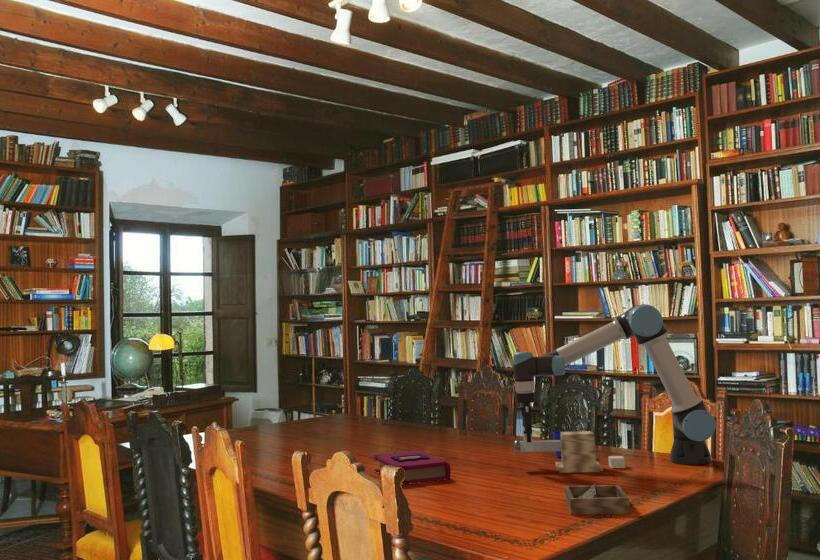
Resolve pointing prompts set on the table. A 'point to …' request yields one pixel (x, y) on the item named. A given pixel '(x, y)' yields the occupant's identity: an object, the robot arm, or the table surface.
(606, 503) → the wooden tray
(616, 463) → the spacer
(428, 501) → the table surface
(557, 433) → the mug
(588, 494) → the rock sample
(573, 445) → the block
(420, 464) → the book
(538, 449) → the shaft
